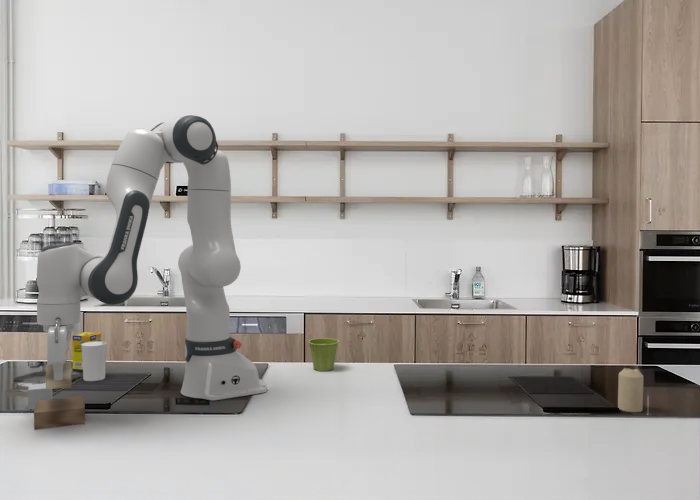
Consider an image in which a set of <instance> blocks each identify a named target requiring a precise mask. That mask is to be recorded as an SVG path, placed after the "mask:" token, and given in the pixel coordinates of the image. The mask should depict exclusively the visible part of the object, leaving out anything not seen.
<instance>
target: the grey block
mask: <svg viewBox="0 0 700 500" xmlns="http://www.w3.org/2000/svg"><path fill="white" fill-rule="evenodd" d="M48 399H54V398H53V389H46V382H45V383H35V384H29V386H28V389H27V411H31V410H30V409H35V407H36V404H37V401H38V400H48Z"/></svg>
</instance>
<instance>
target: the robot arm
mask: <svg viewBox="0 0 700 500" xmlns="http://www.w3.org/2000/svg"><path fill="white" fill-rule="evenodd" d="M175 163H177V164H179V163H180V164H181V163H182V164H183V165H184V167H185V169H186V173H187V178H188V179H187V207H186V208H187V211H186V213H187V215H186V217H187V218H186V219H187V225H188V226H189V230H190V235H191V236H190V237H191V240H192V241H191V242H192V245H190V246H187V247H186V248H185V249H183V251H182V252H181V253H180V254H179V257H178V260H177V261H178V262H177V264H178V265H177V266H178V269H179V272H180V276H181V284H182V289H183V295H184V302H185V309H186V310H185V311H186V338H185V339H184V340H185V341H184V358H185V369H184V376H183V381H182V386H181V389H180V394H181V395H183V396H184V397H188V398H193V399H203V400H208V401H218V400H227V399H232V398H239V397H244V396H250V395H257V394H263V393H266V392H267V391H268V384H267V383H266V382H265V381H264V380H262V379H261V378H260V377H259V371H258V368H257V366H256V365H255V363H254V362H253V361H251V360H250V359H249V358H248V357H246V356H245V355H243V354H242V353H241V352H239V351H237V350H239V349H241V347H242V345H243V344H242V342H241V341H240V340H239V339H236V338H233V337H231V336H230V331H231V330H230V329H231V328H230V327H231V326H230V322H231V321H230V317H231V316H230V313H231V312H230V311H231V310H230V306H229V304H228V301H227V298H226V293H225V289H224V287H226V286H230V285H231V284H233V283H234V282H235V281H236V280H237V279H238V278H239V276H240V274H241V273H240V272H241V267H242V266H241V261H240V258H239V257H238V254H237V251H236V248H235V242H234V241H235V240H234V236H233V229H232V228H233V227H232V219H231V217H232V215H231V212H232V211H231V209H232V207H231V205H232V200H231V199H232V198H231V197H232V195H231V194H232V191H231V190H232V184H231V183H232V182H231V180H232V179H231V170H230V164H229V159H228V156H227V155H226V154H225V153H224V152H223V151H222V150H220V149H219V143H218V141H217V135H216V133H215V130H214V128H213V126H212V124H211V123H210V122H209V121H208V120H207V119H205V118H204V117H202V116H198V115H193V114H190V115H188V114H187V115H185V116H178V117H173V118H170V119H169V120H166V121H164V122H160V123H159V124H157V125H155V126H154V127H152V128H151V129H146V128H134V129H133V128H132V129H131V130H129V131H128V132H127V133H126V134H125V136H124V138H123V140H122V141H121V143H120V145H119V147H118V149H117V151H116V153H115V154H114V157H113V160H112V162H111V165H110V167H109V171H108V175H107V177H106V182H105V183H106V185H105V194H106V197H107V199H108V200H109V201H110V203H111V204H112V205H113V207H114V209H115V213H116V221H115V225H114V227H113V233H112V236H111V238H110V243H109V247H108V250H107V252H106V254H105V255H104V256H100V255H98V254H95V253H92V252H90V251H88V250H86V249H84V248H82V247H80V246H79V245H78V244H77V243H75V242H71V241H69V242H67V241H66V242H58V243H53V244H48V245H46V246H44V247H43V248H42V249H40V251H39V254H38V259H37V267H36V285H37V289H38V296H37V299H36V322H37V323H36V324H37V325H39V326H43V332H45V333H47V337H46V340H47V342H46V343H47V344H46V347H47V348H46V352H47V353H46V355H47V356H46V358H47V359H46V360H47V362H48V364H49V365H53V371H54V380H55V381H57V380H62V379H63V364H65V363H66V361H68V354H69V350H70V346H71V339H72V331H74V330H75V325H76V324H78V323H80V322H81V298H82V297H87V296H88V297H90V298H93V299H96V300H97V301H99V302H100V303H103V304H105V305H106V304H107V305H110V306H112V305H114V306H115V305H120V304H122V303H124V302H126V301H127V300H129V299H130V298H131V297H132V296H133V294H135V292H136V289H137V287H138V283H139V282H138V281H139V276H138V275H139V273H138V258H139V255H140V254H139V253H140V250H141V247H142V246H141V245H142V242H143V238H144V233H145V229H146V225H147V221H148V216H149V213H150V211H149V210H150V207H151V203H152V199H153V196H154V193H155V191H156V186H157V185H158V182H159V181H158V180H159V178H160V175H161V170H162V168H163V167H164V165H165V164H175Z"/></svg>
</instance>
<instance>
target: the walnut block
mask: <svg viewBox="0 0 700 500" xmlns="http://www.w3.org/2000/svg"><path fill="white" fill-rule="evenodd" d="M85 403H86V399H85V395H82V396H72V397H70V396H69V397H62V398H53V399H48V400H38V401H37V404H36V407H35V410H33V428H34V430H43V429H44V430H45V429H51V428H60V427H61V428H62V427H71V426H80V425H85V423H86V422H85V421H86V418H85V417H86V416H85V415H86V412H85V411H86V405H85Z"/></svg>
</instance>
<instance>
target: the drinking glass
mask: <svg viewBox="0 0 700 500" xmlns="http://www.w3.org/2000/svg"><path fill="white" fill-rule="evenodd" d="M81 347H82V363H83V372H82V377H83V381H85V382H96V381H103V380H104V379H106V362H107V357H106V356H107V342H105V341H101V342H86V343H83V344H81Z"/></svg>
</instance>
